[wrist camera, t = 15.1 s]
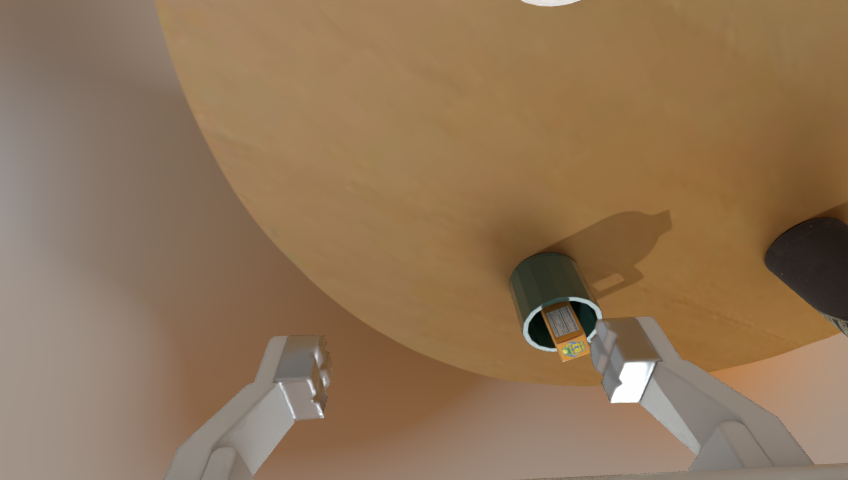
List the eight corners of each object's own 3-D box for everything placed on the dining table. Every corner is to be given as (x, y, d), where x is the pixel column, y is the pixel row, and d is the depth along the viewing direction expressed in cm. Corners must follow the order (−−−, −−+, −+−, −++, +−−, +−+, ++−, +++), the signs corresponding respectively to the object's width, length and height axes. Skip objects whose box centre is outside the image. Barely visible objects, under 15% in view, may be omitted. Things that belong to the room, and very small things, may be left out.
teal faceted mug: (495, 282, 50) (506, 328, 44) (550, 240, 46) (570, 284, 40) (553, 325, 55) (571, 372, 48) (607, 289, 51) (634, 335, 45)
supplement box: (563, 288, 50) (592, 355, 42) (535, 297, 50) (559, 364, 42) (556, 269, 48) (586, 335, 40) (528, 279, 49) (551, 345, 40)
